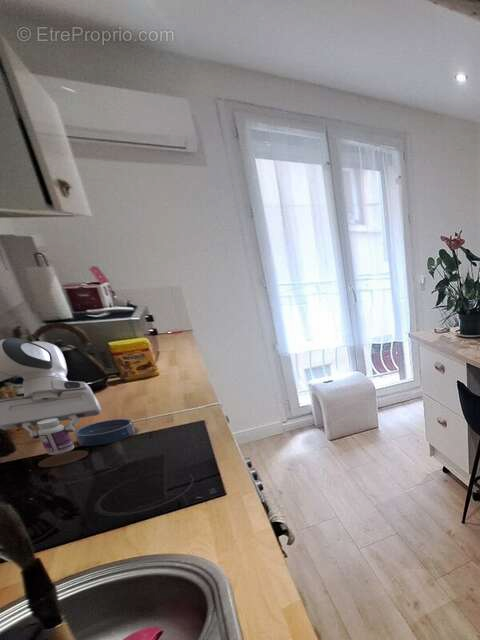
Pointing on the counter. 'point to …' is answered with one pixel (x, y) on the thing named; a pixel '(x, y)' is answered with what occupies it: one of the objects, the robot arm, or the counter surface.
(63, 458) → the coaster
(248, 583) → the counter surface
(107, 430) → the bowl
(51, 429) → the pill bottle
